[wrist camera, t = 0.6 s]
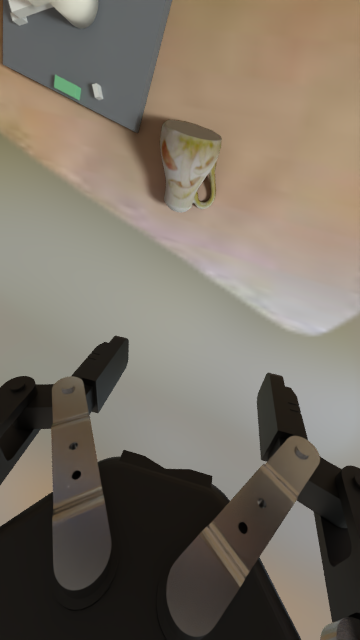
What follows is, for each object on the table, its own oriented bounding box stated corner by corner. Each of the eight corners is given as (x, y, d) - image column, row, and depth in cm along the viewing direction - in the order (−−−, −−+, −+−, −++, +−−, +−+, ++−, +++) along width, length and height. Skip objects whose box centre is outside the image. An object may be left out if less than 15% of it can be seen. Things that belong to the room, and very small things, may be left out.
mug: (156, 208, 36) (128, 164, 27) (189, 148, 35) (171, 80, 26) (199, 229, 35) (185, 191, 25) (234, 167, 34) (234, 102, 24)
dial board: (16, -170, 22) (-7, -206, 20) (190, -75, 23) (186, -101, 21) (12, 69, 31) (-4, 60, 29) (138, 133, 32) (130, 129, 30)
